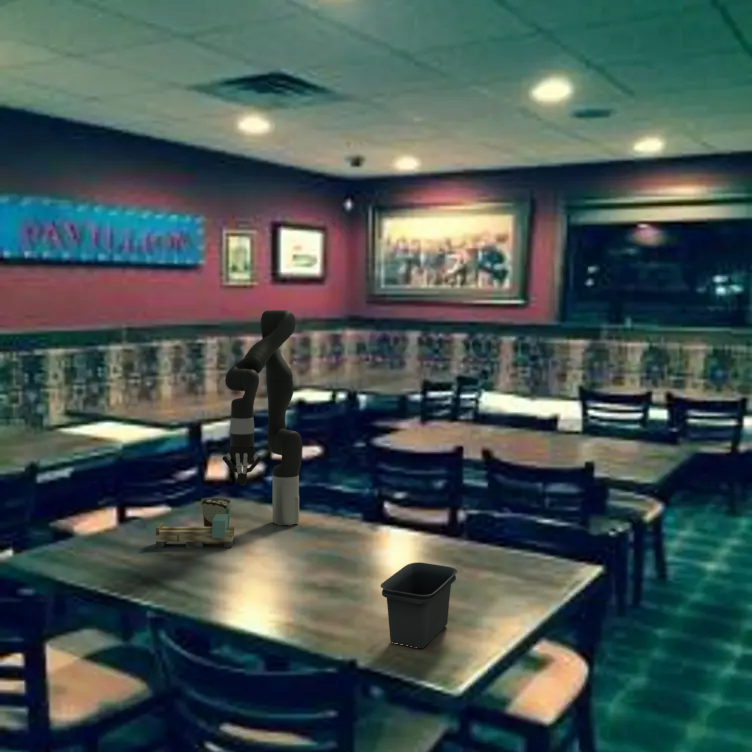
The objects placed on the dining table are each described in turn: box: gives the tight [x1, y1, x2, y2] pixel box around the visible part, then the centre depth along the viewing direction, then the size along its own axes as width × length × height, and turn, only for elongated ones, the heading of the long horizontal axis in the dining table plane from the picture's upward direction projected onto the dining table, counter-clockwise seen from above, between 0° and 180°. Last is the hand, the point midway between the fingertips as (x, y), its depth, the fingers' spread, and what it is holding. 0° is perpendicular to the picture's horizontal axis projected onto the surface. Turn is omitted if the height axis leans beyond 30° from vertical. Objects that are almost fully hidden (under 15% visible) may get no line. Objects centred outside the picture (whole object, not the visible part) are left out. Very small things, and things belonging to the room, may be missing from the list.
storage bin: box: [380, 562, 459, 649], centre depth 204 cm, size 21×16×14 cm
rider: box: [212, 514, 230, 538], centre depth 273 cm, size 4×9×5 cm, turn 2°
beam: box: [155, 522, 235, 549], centre depth 273 cm, size 24×6×6 cm, turn 92°
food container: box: [200, 497, 233, 527], centre depth 293 cm, size 12×6×10 cm, turn 58°
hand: (242, 484), depth 272 cm, fingers closed
